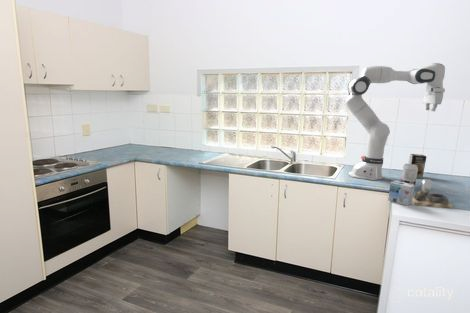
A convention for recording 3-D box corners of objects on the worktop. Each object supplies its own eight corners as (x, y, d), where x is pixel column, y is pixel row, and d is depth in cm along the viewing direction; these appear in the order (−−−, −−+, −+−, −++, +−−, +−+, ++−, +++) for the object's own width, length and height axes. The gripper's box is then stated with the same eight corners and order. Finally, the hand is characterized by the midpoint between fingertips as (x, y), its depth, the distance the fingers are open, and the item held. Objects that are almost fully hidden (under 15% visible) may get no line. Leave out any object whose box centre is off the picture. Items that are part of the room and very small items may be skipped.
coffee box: (409, 177, 227) (412, 155, 224) (406, 174, 233) (409, 153, 230) (423, 178, 226) (426, 156, 222) (419, 176, 232) (423, 154, 228)
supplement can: (397, 186, 205) (400, 163, 201) (406, 185, 207) (410, 163, 204) (407, 190, 197) (411, 167, 194) (417, 189, 200) (421, 166, 197)
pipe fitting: (421, 196, 186) (424, 180, 184) (418, 194, 191) (421, 178, 188) (429, 197, 186) (432, 181, 183) (426, 195, 190) (429, 179, 188)
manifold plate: (415, 205, 173) (417, 194, 171) (407, 197, 184) (409, 187, 183) (451, 208, 170) (453, 197, 168) (441, 200, 181) (443, 190, 180)
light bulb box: (387, 200, 178) (390, 182, 176) (392, 197, 183) (394, 179, 180) (408, 206, 171) (411, 187, 168) (412, 203, 175) (415, 184, 173)
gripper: (422, 89, 217) (419, 109, 220) (435, 89, 197) (431, 111, 200) (432, 89, 216) (429, 109, 219) (446, 89, 196) (442, 112, 199)
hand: (430, 110), depth 209 cm, fingers open, 8 cm apart
